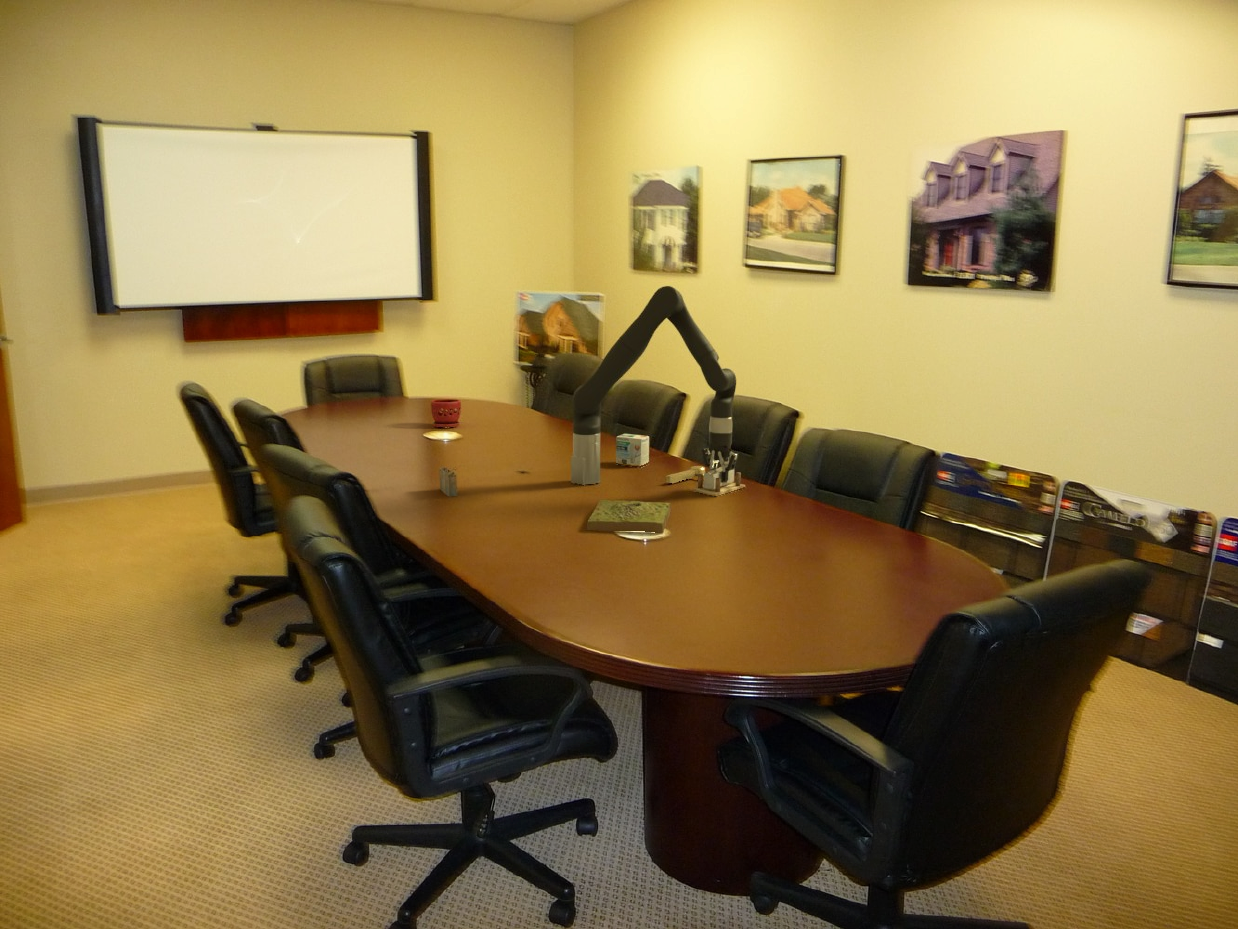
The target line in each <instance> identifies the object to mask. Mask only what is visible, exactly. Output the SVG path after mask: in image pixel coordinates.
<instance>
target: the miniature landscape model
mask: <svg viewBox="0 0 1238 929" xmlns="http://www.w3.org/2000/svg"><path fill="white" fill-rule="evenodd" d="M671 507H672V506H671V502H665V501H663V502H659V501H657V502H656V501H639V500H630V499H629V500H608V499H600V500H599V501H598V503H597V505H596V506H595V508H594V510H593V512H592V513H591V515H590V516H589V517H588V520H587V522H586V523H587V525H586V530H587V531H591V530H598V531H599V532H612V531H645V532H655V533H663V534H664V532H665V529H666V526H667V524H668V521H669V519H670V518H669V517H670V515H671V513H670V512H672V510H671ZM666 523H667V524H666ZM598 531H597V532H598Z"/></svg>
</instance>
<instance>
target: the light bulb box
mask: <svg viewBox="0 0 1238 929" xmlns="http://www.w3.org/2000/svg"><path fill="white" fill-rule="evenodd" d="M615 441H616V442H615V444H616V445H615V446H616V447H615V448H616V449H615V450H616V451H615V464H616V463H623V464H631V465H639V466H641V465H644V464H646V463H648V462H650V456H649V455H650V436H648V435H641V434H631V433H623V434H620V435H618V436H616V440H615Z"/></svg>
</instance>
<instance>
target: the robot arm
mask: <svg viewBox="0 0 1238 929" xmlns="http://www.w3.org/2000/svg"><path fill="white" fill-rule="evenodd" d="M666 319H667V320H668V321H669V322H670V323H671V325H673V327H674V328H675V330H677V332H678V333H679V335H680V337H681V339H682V340H683V342H684V344H685V346H686V348H687V349H688V351H689V353H690V354H691V356H692V357H693V359H694V360H695V362H696V363H697V365H698V366H699V367H700V370H701V374H702V375H703V377H704V380H705V381H706V384H707V385H708V386H709V388H710V389H712V390H713V391H714V393H715V395H714V397H713V398H712V400H711V402H710V415H709V417H710V418H709V423H708V424H709V426H708V427H709V428H708V444H709V446H708V447H706V448H703V449H701V453H702V457H703V461H704V465H705V466H706V467H708V468H709V471H711V470H714V469H717V468H718V463H719V464H720V465H721V466H720V467H722V471H723V472H722V483H725V482H727V481H728V472H729V471H730V470H733V469H734V470H735V467H736V465H737V461H738V459H739V453H735V452H733V450H732V448H731V447H732V446H731V445H732V443H733V401H734V397H735V393H736V388H737V378H736V377H737V376H736V373H735V372H734V371H733V370H732V369H730V368H727V367H726V368H722V366H721V365H720V363H719V359H720V357H719V355H718V352H717V351H716V349H715V348H714V347H713V345H712V344H711V342H710V341H709V339H708V338H707V337H706V335H705V334H704V333H703V332H702V330H701V329H700V328H699V326H698V325H697V324H696V322H695V321H694V318H693V317H692V315H691V314H690V311H689V309H688V307H687V304H686V303H685V301H684V297H683V295H682V294H681V293H680V291H679V290H677V289H676V288H675V287H673V286H670V285H665V286H661V287H659V288H658V289H657V290H655V292H654V293H653V295H652V296H651V298H650V299H649V301H648V302H647V304H646V305H645V307H644V308H643V309H642V311H641V313H640V314H639V315H638V317H637V318H636V319H635V320H634V321H632V323H631V324H630V325H629V326H628V327H627V328H626V330H625V331H624V332H623V333H622V335H620V336H619V338H618V339H617V340H616V342H615V343H614V344H613V345H612V346H611V347H610V349H609V350H608V352H607V353H606V355H605V356H604V358H603V359H602V362H600V365H599V366H598V368H597V370H596V371H595V372H594V373H593V375H592V376H591V377H590V378H589V379H588V380H587V381H586V382H585V383H584V384H581V385H580V386H578V387H577V388H576V389H575V391H574V392H573V396H572V405H573V410H572V411H573V414H572V415H573V417H572V418H573V420H572V433H573V434H572V455H570V468H571V469H570V481H571V482H570V483H571V484H575V483H577V484H576V485H579V484H582V485H581V486H583V485H584V486H586V485H585V484H594V485H596V484H595V483H598V484H600V483H601V424H602V422H601V418H602V417H601V414H602V413H601V411H602V408H601V407H602V406H601V405H602V402H603V400H605V398H606V396H607V394H608V393H609V392H610V390H611V389H612V388H613V386H615V385H616V384H617V382H618V381H620V380H621V379H622V378H623V377H624V375H625V374H626V373H628V371H629V370H630V369H631V368H632V367H633V366H634V365H635V364H636V362H637V361H638V360H639V359H640V358H641V357H642V355H643V354H644V352H645V351H646V349H647V348H648V345H649V344H650V341H651V339H652V338H653V336H654V333H655V332H656V330H657V329H658V328H659V326H660V325H661V324H662V323H663V322H664V321H665V320H666ZM705 466H704V467H705ZM706 467H705V468H706Z"/></svg>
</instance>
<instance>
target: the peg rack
mask: <svg viewBox="0 0 1238 929" xmlns="http://www.w3.org/2000/svg"><path fill="white" fill-rule="evenodd" d="M741 475H742V473H741V472H738V471H737V472H735V482H734V481H733V482H731V483H728V484H726V485H723V486H720V481H721V478H716V483H715V489H707V488H704V481H703V474H698V481H697V486H696V487H693V488H692V492H693V491H696V492H699V493H698V494H700V493H704V494H708V495H707V496H709V495H713V496H712V497H714V496H718V495H721V494H724V495H726V494H725V493H728V492H731V491H734V490H737V489H740V488H743V487H745V488H746V484H743V483H741V478H742V477H741ZM731 493H732V492H731ZM704 494H703V495H704ZM728 494H729V493H728ZM721 496H722V495H721ZM718 497H719V496H718Z"/></svg>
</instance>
